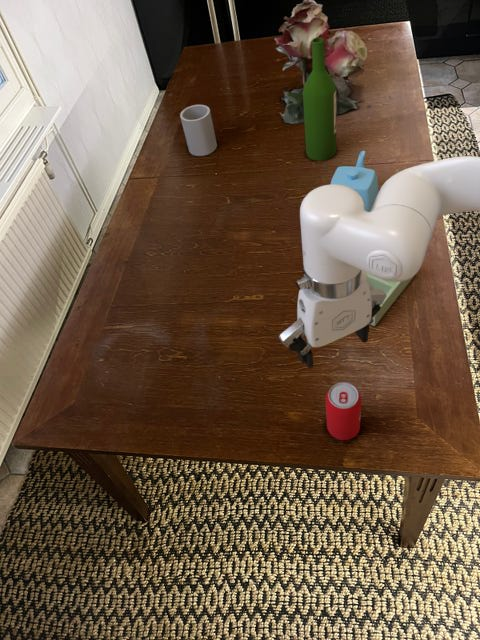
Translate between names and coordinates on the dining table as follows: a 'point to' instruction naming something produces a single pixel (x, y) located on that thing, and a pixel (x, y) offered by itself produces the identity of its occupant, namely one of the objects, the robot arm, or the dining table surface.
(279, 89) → the dining table surface
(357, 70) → the rose bouquet
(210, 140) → the cup
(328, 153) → the wine bottle
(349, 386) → the beverage can
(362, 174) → the teapot
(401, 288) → the can holder
